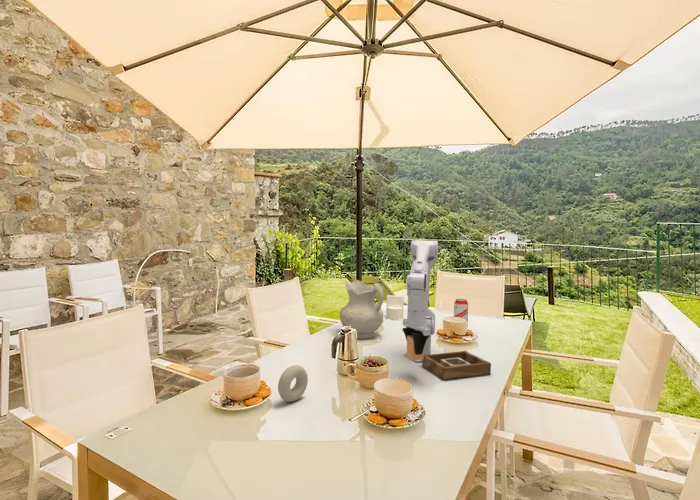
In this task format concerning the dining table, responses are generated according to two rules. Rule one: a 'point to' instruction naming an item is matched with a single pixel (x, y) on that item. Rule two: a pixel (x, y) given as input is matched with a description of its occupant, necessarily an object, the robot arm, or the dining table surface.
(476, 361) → the box
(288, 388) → the donut
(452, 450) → the dining table surface
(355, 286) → the ceramic pitcher
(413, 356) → the plug
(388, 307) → the base with upright slab
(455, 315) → the beer can
